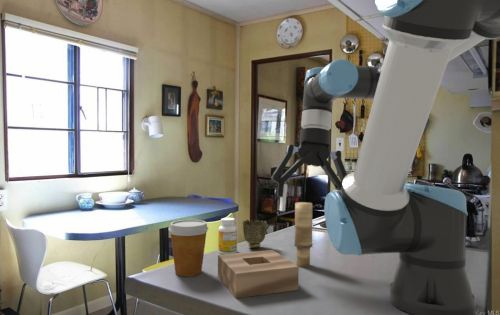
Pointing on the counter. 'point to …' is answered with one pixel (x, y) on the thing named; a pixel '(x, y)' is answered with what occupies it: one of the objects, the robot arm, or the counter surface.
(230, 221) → the supplement bottle
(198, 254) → the disposable coffee cup
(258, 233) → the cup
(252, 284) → the seat block
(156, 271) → the counter surface
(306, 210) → the leg
